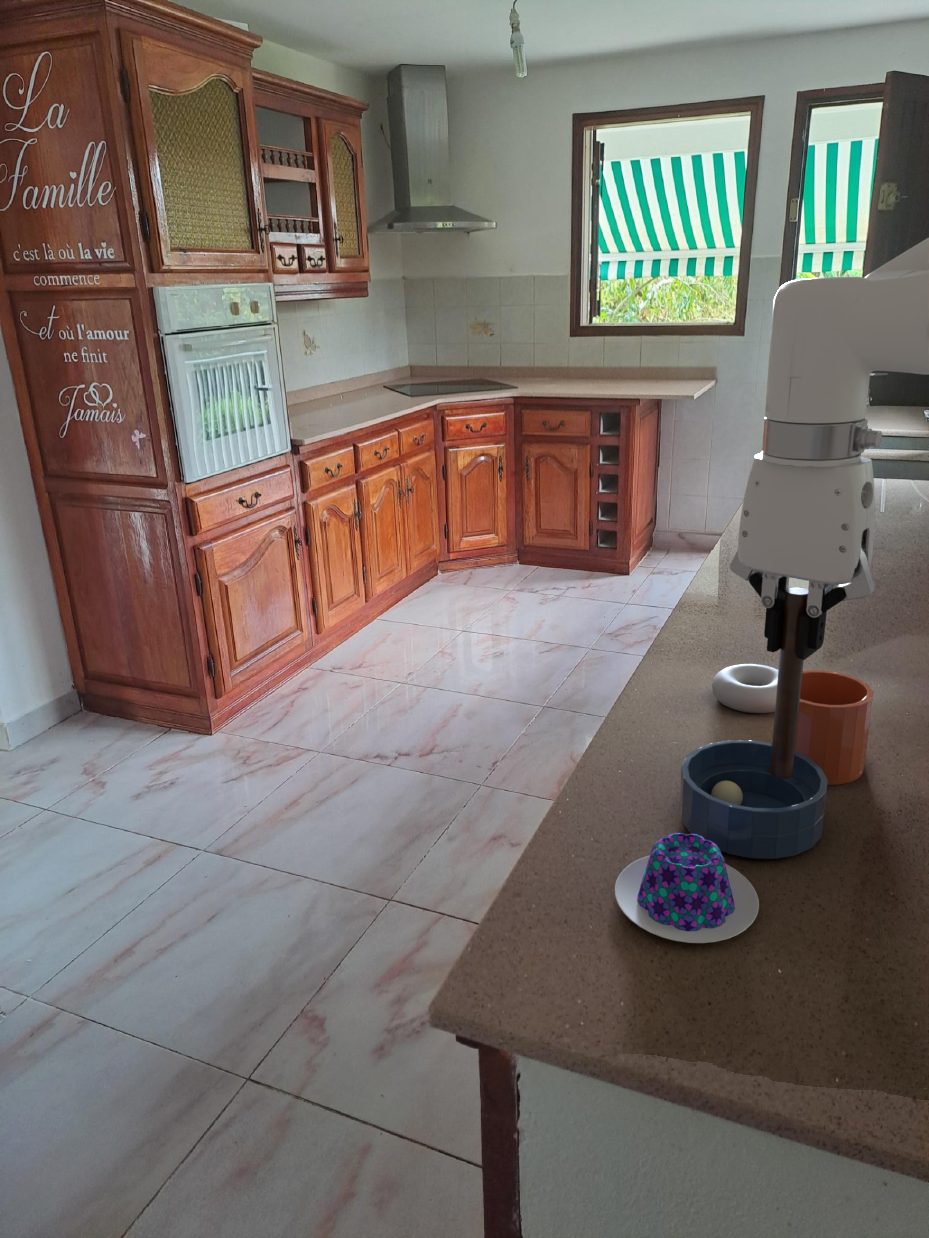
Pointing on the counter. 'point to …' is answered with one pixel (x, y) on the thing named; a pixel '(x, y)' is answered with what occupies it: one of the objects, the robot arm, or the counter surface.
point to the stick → (788, 686)
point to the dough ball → (728, 792)
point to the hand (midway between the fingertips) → (792, 649)
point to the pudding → (686, 892)
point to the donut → (747, 688)
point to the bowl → (753, 800)
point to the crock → (834, 723)
